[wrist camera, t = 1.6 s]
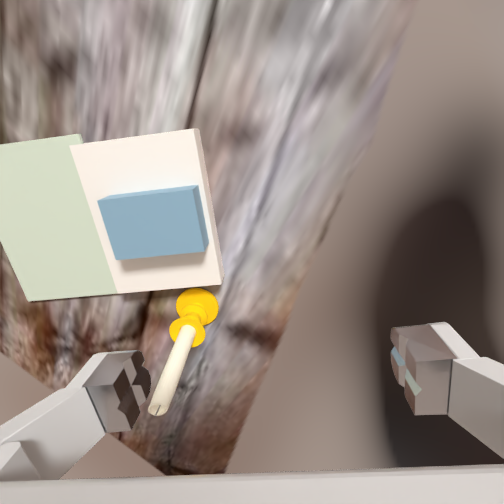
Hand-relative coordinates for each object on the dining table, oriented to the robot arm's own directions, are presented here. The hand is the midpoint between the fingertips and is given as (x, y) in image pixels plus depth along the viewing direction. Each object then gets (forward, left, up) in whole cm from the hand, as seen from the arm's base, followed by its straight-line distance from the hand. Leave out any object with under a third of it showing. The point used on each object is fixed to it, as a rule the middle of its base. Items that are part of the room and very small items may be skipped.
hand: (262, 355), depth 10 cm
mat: (0, -24, -24) cm, 34 cm away
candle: (+12, -10, -24) cm, 29 cm away
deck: (0, -12, -24) cm, 27 cm away
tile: (0, -11, -21) cm, 24 cm away
